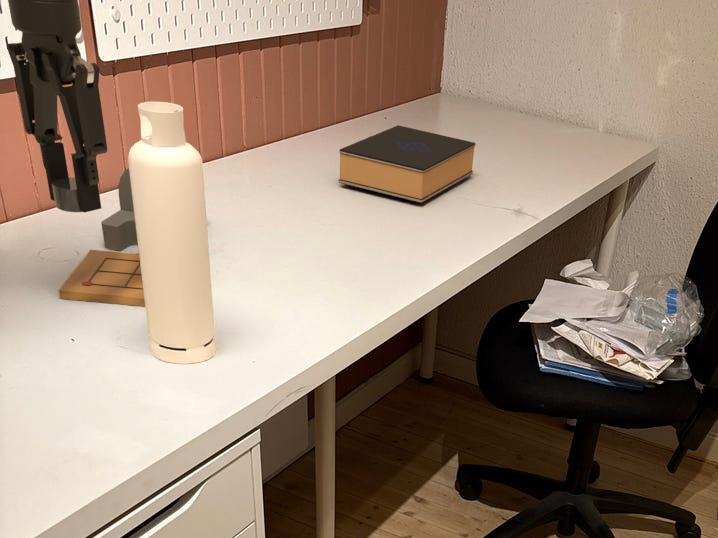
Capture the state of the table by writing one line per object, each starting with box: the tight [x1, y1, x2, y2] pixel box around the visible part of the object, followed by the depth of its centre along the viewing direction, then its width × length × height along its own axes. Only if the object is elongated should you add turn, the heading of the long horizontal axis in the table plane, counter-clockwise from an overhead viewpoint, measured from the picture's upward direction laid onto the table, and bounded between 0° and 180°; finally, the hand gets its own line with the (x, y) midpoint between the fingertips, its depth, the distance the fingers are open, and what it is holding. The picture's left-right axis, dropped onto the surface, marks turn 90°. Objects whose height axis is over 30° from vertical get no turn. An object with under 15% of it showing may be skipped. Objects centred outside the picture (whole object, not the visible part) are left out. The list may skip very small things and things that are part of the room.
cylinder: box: [52, 177, 82, 213], centre depth 123 cm, size 5×5×3 cm
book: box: [338, 125, 476, 204], centre depth 186 cm, size 17×25×7 cm
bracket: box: [100, 167, 138, 252], centre depth 148 cm, size 10×18×11 cm, turn 169°
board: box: [58, 249, 145, 307], centre depth 136 cm, size 16×16×1 cm
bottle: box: [127, 101, 217, 365], centre depth 114 cm, size 8×8×28 cm
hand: (76, 203), depth 124 cm, fingers closed on cylinder, 5 cm apart
